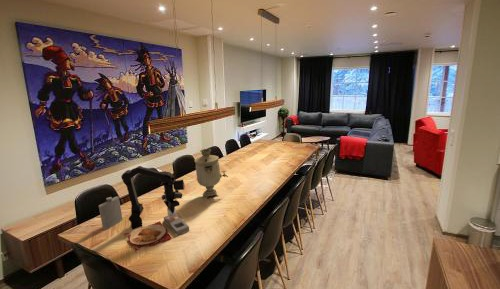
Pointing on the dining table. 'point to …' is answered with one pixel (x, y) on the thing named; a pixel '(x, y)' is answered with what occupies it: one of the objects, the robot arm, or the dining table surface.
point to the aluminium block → (170, 214)
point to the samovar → (208, 172)
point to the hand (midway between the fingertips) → (171, 211)
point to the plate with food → (148, 235)
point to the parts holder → (176, 224)
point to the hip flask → (110, 212)
